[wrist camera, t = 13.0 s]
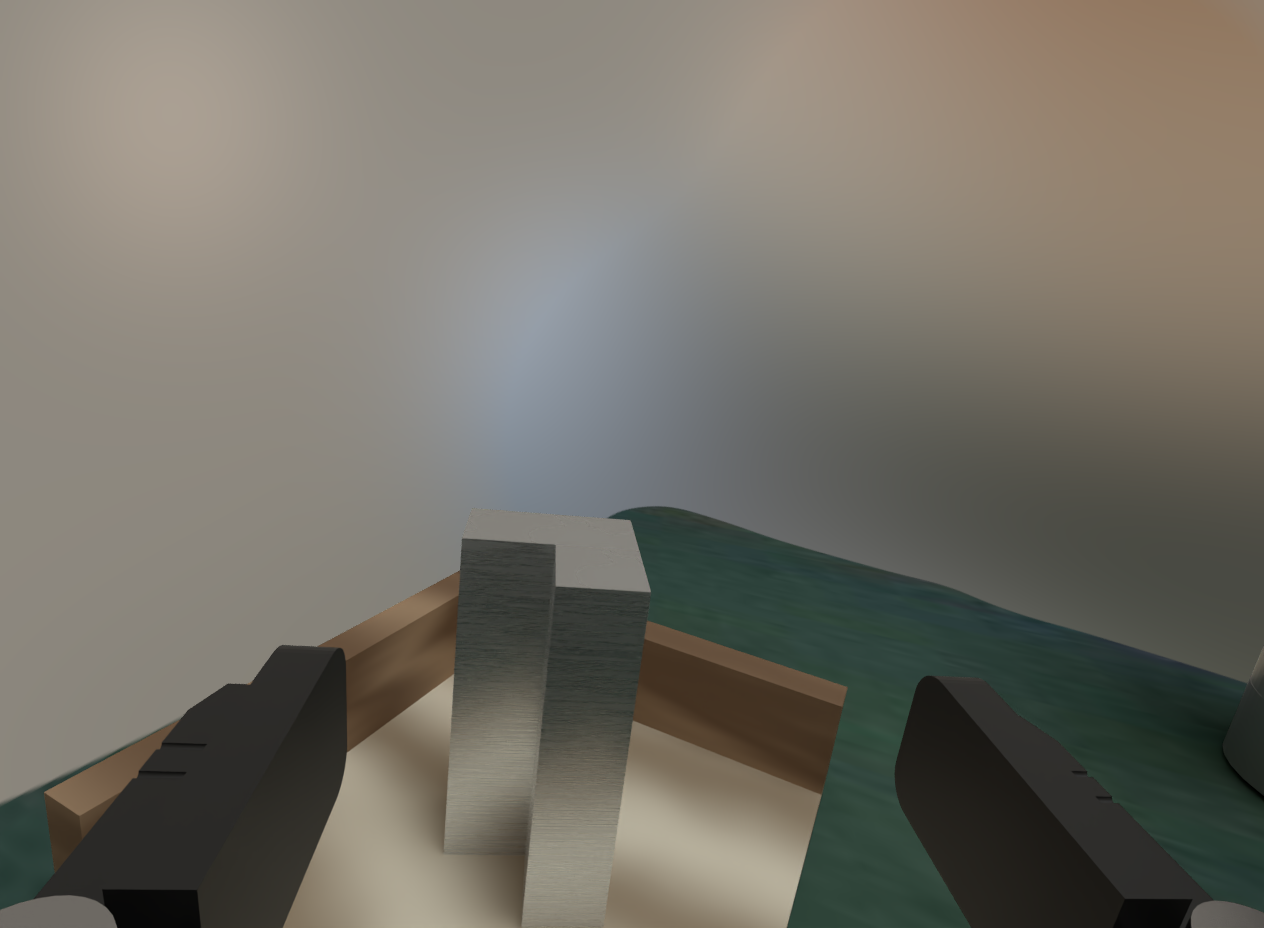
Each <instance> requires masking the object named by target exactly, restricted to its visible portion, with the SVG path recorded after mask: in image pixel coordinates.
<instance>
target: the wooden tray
mask: <svg viewBox="0 0 1264 928" xmlns="http://www.w3.org/2000/svg"><path fill="white" fill-rule="evenodd" d="M459 582H460V571H458V572H456V573H454V574H452V575H451V576H449V577H447V578H445V579H443V580H441V581H439V582H437V583H436V584H434V585H432V586H430V587H428V588H426V589H424V590H422V591H421V592H419V593H417V594H415V595H413V596H411V597H409V598H407V599H406V600H404V601H402V602H400V603H398V604H396V605H394V606H392V607H391V608H389V609H387V610H385V611H383V612H381V613H379V614H378V615H376V616H374V617H372V618H370V619H368V620H366V621H364V622H362V623H361V624H359V625H357V626H355V627H353V628H351V629H349V630H348V631H346V632H344V633H342V634H340V635H338V636H336V637H334V638H332V639H331V640H329V641H327V642H325V643H323V644H321V645H319V646H318V647H335V648H342V649H343V651H344V654H345V659H346V696H347V756H346V764H345V770H344V775H343V780H342V784H341V787H340V791H339V794H338V797H337V799H336V802H335V804H334V807H333V809H332V811H331V814H330V816H329V818H328V821H327V823H326V826H325V828H324V830H323V833H322V835H321V838H320V840H319V842H318V845H317V847H316V850H315V852H314V854H313V857H312V859H311V861H310V864H309V866H308V869H307V871H306V873H305V876H304V878H303V881H302V883H301V885H300V888H299V890H298V893H297V895H296V897H295V900H294V902H293V904H292V907H291V909H290V912H289V914H288V916H287V919H286V921H285V924H284V926H283V928H521V923H522V903H523V884H524V864H525V855H443V854H444V837H445V820H446V803H447V786H448V769H449V752H450V735H451V718H452V701H453V684H454V667H455V650H456V633H457V616H458V599H459ZM251 683H252V682H250V683H248V684H251ZM847 688H848V687H845V686H842V685H839V684H836V683H833V682H830V681H827V680H824V679H821V678H818V677H815V676H812V675H809V674H806V673H803V672H800V671H797V670H794V669H791V668H788V667H785V666H782V665H779V664H776V663H773V662H770V661H767V660H764V659H761V658H758V657H755V656H752V655H749V654H746V653H743V652H740V651H737V650H734V649H731V648H728V647H725V646H722V645H719V644H716V643H713V642H710V641H707V640H704V639H701V638H698V637H695V636H692V635H689V634H686V633H683V632H680V631H677V630H674V629H671V628H668V627H665V626H662V625H659V624H656V623H653V622H650V621H647V624H646V631H645V638H644V645H643V652H642V659H641V666H640V673H639V680H638V687H637V694H636V701H635V708H634V715H633V722H632V729H631V736H630V743H629V750H628V757H627V764H626V772H625V779H624V786H623V793H622V800H621V807H620V814H619V821H618V828H617V835H616V842H615V849H614V856H613V863H612V870H611V877H610V884H609V891H608V898H607V905H606V912H605V919H604V926H603V928H787V925H788V921H789V918H790V914H791V910H792V906H793V902H794V899H795V895H796V891H797V887H798V883H799V880H800V876H801V872H802V868H803V864H804V861H805V857H806V853H807V849H808V845H809V842H810V838H811V834H812V830H813V826H814V823H815V819H816V815H817V811H818V807H819V804H820V800H821V796H822V792H823V788H824V784H825V780H826V776H827V772H828V767H829V763H830V759H831V755H832V751H833V746H834V742H835V738H836V734H837V730H838V725H839V721H840V717H841V713H842V709H843V704H844V700H845V696H846V692H847ZM179 721H180V720H179ZM179 721H177V722H175V723H173V724H171V725H169V726H167V727H166V728H164V729H162V730H160V731H158V732H156V733H154V734H152V735H151V736H149V737H147V738H145V739H143V740H141V741H139V742H137V743H136V744H134V745H132V746H130V747H128V748H126V749H124V750H122V751H121V752H119V753H117V754H115V755H113V756H111V757H109V758H107V759H106V760H104V761H102V762H100V763H98V764H96V765H94V766H92V767H91V768H89V769H87V770H85V771H83V772H81V773H79V774H77V775H76V776H74V777H72V778H70V779H68V780H66V781H64V782H62V783H61V784H59V785H57V786H55V787H53V788H51V789H49V790H47V791H46V792H44V795H45V803H46V810H47V818H48V825H49V833H50V840H51V848H52V855H53V863H54V870H55V872H56V871H57V870H58V869H59V868H60V866H61V865H62V864H63V863H64V861H65V860H66V859H67V858H68V857H69V855H70V854H71V853H72V852H73V850H74V849H75V848H76V847H77V846H78V844H79V843H80V842H81V841H82V839H83V838H84V837H85V836H86V834H87V833H88V832H89V831H90V830H91V828H92V827H93V826H94V825H95V823H96V822H97V821H98V820H99V819H100V817H101V816H102V815H103V814H104V812H105V811H106V810H107V809H108V808H109V806H110V805H111V804H112V803H113V801H114V800H115V799H116V798H117V797H118V795H119V794H120V793H121V792H122V790H123V789H124V788H125V787H126V786H127V784H128V783H129V782H130V781H131V779H132V778H137V776H138V773H139V770H140V768H141V767H142V766H143V765H144V763H145V762H146V761H147V760H148V759H149V757H150V756H151V755H152V754H153V752H154V751H155V750H156V749H160V748H161V745H162V741H163V740H164V739H165V738H166V737H167V735H168V734H169V733H170V732H171V730H172V729H173V728H174V727H175V726H176V724H177V723H178V722H179Z"/></svg>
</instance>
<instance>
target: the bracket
mask: <svg viewBox="0 0 1264 928" xmlns="http://www.w3.org/2000/svg"><path fill="white" fill-rule="evenodd" d="M650 596H651V590H650V587H649V583H648V580H647V576H646V573H645V569H644V566H643V562H642V559H641V555H640V552H639V548H638V545H637V542H636V538H635V535H634V531H633V528H632V524H631V521H630V520H618V519H605V518H591V517H579V516H566V515H553V514H540V513H527V512H513V511H501V510H488V509H475V508H472V510H471V513H470V516H469V519H468V522H467V525H466V528H465V531H464V534H463V537H462V548H461V566H460V582H459V599H458V616H457V633H456V650H455V667H454V684H453V701H452V718H451V735H450V752H449V769H448V786H447V803H446V820H445V837H444V854H443V855H525V864H524V884H523V903H522V923H521V928H603V926H604V919H605V912H606V905H607V898H608V891H609V884H610V877H611V870H612V863H613V856H614V849H615V842H616V835H617V828H618V821H619V814H620V807H621V800H622V793H623V786H624V779H625V772H626V764H627V757H628V750H629V743H630V736H631V729H632V722H633V715H634V708H635V701H636V694H637V687H638V680H639V673H640V666H641V659H642V652H643V645H644V638H645V631H646V624H647V617H648V610H649V603H650Z"/></svg>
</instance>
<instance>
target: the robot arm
mask: <svg viewBox="0 0 1264 928" xmlns="http://www.w3.org/2000/svg"><path fill="white" fill-rule="evenodd" d="M1222 745H1223V752H1224V755H1225V756H1226V758H1227V760H1228V761H1229V763H1230V765H1231V766H1232V767H1233V768H1234V769H1235V770H1236V771H1237V772H1238V774H1239V775H1240V776H1241V777H1242V778H1243V779H1244V780H1245V781H1247V782H1248V783H1249V784H1250V785H1251V786H1252V787H1254V788H1255V789H1256V790H1257V791H1258V792H1260V793H1261V794H1262V795H1264V646H1263V649H1262V651H1261V654H1260V656H1259V659H1258V661H1257V663H1256V666H1255V668H1254V670H1253V673H1252V674H1251V677H1250V679H1249V681H1248V684H1247V686H1246V689H1245V691H1244V693H1243V696H1242V698H1241V701H1240V703H1239V706H1238V708H1237V711H1236V713H1235V715H1234V718H1233V720H1232V722H1231V725H1230V727H1229V730H1228V732H1227V734H1226V737H1225V739H1224V742H1223V744H1222ZM346 756H347V696H346V659H345V654H344V651H343V649H342V648H335V647H312V646H311V647H310V646H290V645H282V646H279V647H278V648H277V649H276V650H275V651H274V652H273V654H272V655H271V656H270V658H269V659H268V661H267V662H266V663H265V665H264V666H263V667H262V669H261V670H260V672H259V673H258V674H257V676H256V677H255V679H254V680H253V681H252V683H251V684H227V685H225V686H224V687H222V688H221V689H219V690H218V691H216V692H215V693H213V694H212V695H210V696H209V697H207V698H206V699H204V700H203V701H201V702H200V703H198V704H196V705H195V706H193V707H192V708H190V709H189V710H188V711H187V712H186V713H185V715H184V716H183V717H182V718H181V719H180V721H179V722H178V723H177V724H176V726H175V727H174V728H173V729H172V730H171V732H170V733H169V734H168V735H167V737H166V738H165V739H164V740H163V741H162V745H161V748H160V749H156V750H155V751H154V752H153V754H152V755H151V756H150V757H149V759H148V760H147V761H146V762H145V763H144V765H143V766H142V767H141V768H140V770H139V773H138V776H137V778H132V779H131V781H130V782H129V783H128V784H127V786H126V787H125V788H124V789H123V790H122V792H121V793H120V794H119V795H118V797H117V798H116V799H115V800H114V801H113V803H112V804H111V805H110V806H109V808H108V809H107V810H106V811H105V812H104V814H103V815H102V816H101V817H100V819H99V820H98V821H97V822H96V823H95V825H94V826H93V827H92V828H91V830H90V831H89V832H88V833H87V834H86V836H85V837H84V838H83V839H82V841H81V842H80V843H79V844H78V846H77V847H76V848H75V849H74V850H73V852H72V853H71V854H70V855H69V857H68V858H67V859H66V860H65V861H64V863H63V864H62V865H61V866H60V868H59V869H58V870H57V871H56V872H55V874H54V875H53V876H52V877H51V879H50V880H49V881H48V882H47V883H46V885H45V886H44V887H43V888H42V890H41V891H40V892H39V893H38V894H37V896H36V897H35V898H34V899H33V900H30V901H26V902H22V903H19V904H16V905H13V906H10V907H8V908H5V909H2V910H0V928H283V926H284V924H285V921H286V919H287V916H288V914H289V912H290V909H291V907H292V904H293V902H294V900H295V897H296V895H297V893H298V890H299V888H300V885H301V883H302V881H303V878H304V876H305V873H306V871H307V869H308V866H309V864H310V861H311V859H312V857H313V854H314V852H315V850H316V847H317V845H318V842H319V840H320V838H321V835H322V833H323V830H324V828H325V826H326V823H327V821H328V818H329V816H330V814H331V811H332V809H333V807H334V804H335V802H336V799H337V797H338V794H339V791H340V787H341V784H342V780H343V775H344V770H345V764H346ZM895 785H896V792H897V796H898V800H899V803H900V805H901V808H902V810H903V812H904V814H905V816H906V817H907V819H908V821H909V822H910V824H911V826H912V827H913V829H914V831H915V833H916V834H917V836H918V838H919V839H920V841H921V843H922V844H923V846H924V848H925V850H926V851H927V853H928V855H929V856H930V858H931V860H932V861H933V863H934V865H935V867H936V868H937V870H938V872H939V873H940V875H941V877H942V878H943V880H944V882H945V884H946V885H947V887H948V889H949V890H950V892H951V894H952V895H953V897H954V899H955V901H956V902H957V904H958V906H959V907H960V909H961V911H962V912H963V914H964V916H965V918H966V919H967V921H968V923H969V924H970V926H971V928H1264V913H1263V912H1261V911H1258V910H1255V909H1253V908H1250V907H1247V906H1244V905H1240V904H1237V903H1231V902H1226V901H1214V900H1213V899H1212V898H1211V897H1210V896H1209V895H1208V894H1207V893H1206V892H1205V891H1204V890H1203V889H1202V888H1201V887H1200V886H1199V885H1198V884H1197V883H1196V882H1195V881H1194V880H1193V879H1192V878H1191V877H1190V876H1189V875H1188V874H1187V873H1186V872H1185V871H1184V869H1183V868H1182V867H1181V866H1180V865H1179V864H1178V863H1177V862H1176V861H1175V860H1174V859H1173V858H1172V857H1171V856H1170V855H1169V854H1168V853H1167V852H1166V851H1165V850H1164V849H1163V848H1162V847H1161V846H1160V845H1159V844H1158V843H1157V842H1156V841H1155V840H1154V839H1153V838H1152V837H1151V836H1150V835H1149V834H1148V833H1147V832H1146V831H1145V830H1144V829H1143V828H1142V827H1141V826H1140V825H1139V824H1138V823H1137V822H1136V821H1135V820H1134V819H1133V818H1132V817H1131V816H1130V814H1129V813H1128V812H1127V811H1126V810H1125V809H1124V808H1123V807H1122V806H1121V805H1120V804H1119V803H1113V801H1112V796H1111V795H1110V794H1109V793H1108V792H1107V791H1106V790H1105V789H1104V788H1103V787H1102V786H1101V785H1100V784H1099V783H1098V782H1097V781H1096V780H1095V779H1094V778H1093V777H1088V776H1087V771H1086V770H1085V769H1084V768H1083V767H1082V766H1081V765H1080V764H1079V763H1078V762H1077V761H1076V759H1075V758H1074V757H1073V756H1072V755H1071V754H1070V753H1069V752H1068V751H1067V750H1066V749H1065V748H1064V747H1063V746H1062V745H1061V744H1060V743H1059V742H1058V741H1056V740H1055V739H1053V738H1052V737H1050V736H1049V735H1047V734H1046V733H1044V732H1043V731H1041V730H1040V729H1038V728H1037V727H1036V726H1034V725H1033V724H1031V723H1030V722H1028V721H1027V720H1025V719H1024V718H1022V717H1021V716H1018V715H1017V714H1016V713H1015V712H1014V711H1013V710H1012V709H1011V707H1010V706H1009V705H1008V704H1007V703H1006V702H1005V701H1004V700H1003V699H1002V698H1001V697H1000V696H999V695H998V694H997V693H996V692H995V691H994V690H993V689H992V688H991V686H990V685H989V684H987V683H986V682H985V681H984V680H982V679H979V678H968V677H946V676H926V677H924V678H923V679H921V681H920V682H919V683H918V685H917V688H916V691H915V694H914V698H913V701H912V705H911V709H910V712H909V716H908V720H907V724H906V727H905V731H904V735H903V738H902V742H901V746H900V749H899V753H898V757H897V761H896V765H895Z"/></svg>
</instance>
